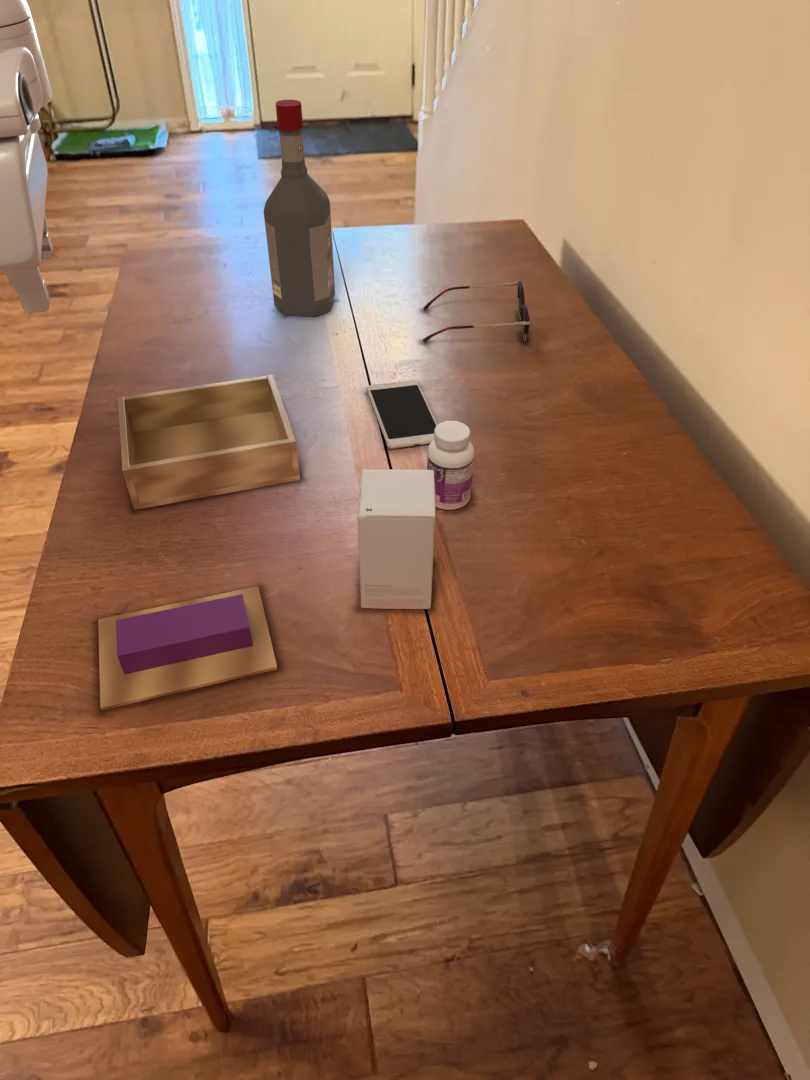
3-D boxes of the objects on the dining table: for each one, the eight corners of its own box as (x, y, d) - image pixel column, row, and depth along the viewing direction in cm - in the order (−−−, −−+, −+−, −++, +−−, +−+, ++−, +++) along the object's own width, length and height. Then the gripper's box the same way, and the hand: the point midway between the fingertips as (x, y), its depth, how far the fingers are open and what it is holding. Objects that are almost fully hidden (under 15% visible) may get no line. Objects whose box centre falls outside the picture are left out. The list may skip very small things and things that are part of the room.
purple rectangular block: (124, 674, 72) (116, 655, 70) (122, 638, 75) (115, 619, 74) (253, 646, 75) (249, 627, 73) (246, 612, 78) (242, 593, 76)
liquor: (337, 293, 132) (326, 95, 111) (327, 319, 125) (314, 113, 105) (284, 291, 132) (264, 93, 112) (272, 315, 126) (248, 110, 105)
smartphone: (388, 446, 98) (365, 385, 109) (388, 450, 99) (365, 389, 110) (445, 439, 100) (417, 378, 110) (445, 443, 100) (417, 382, 111)
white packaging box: (431, 611, 79) (436, 517, 70) (359, 609, 79) (354, 516, 71) (431, 560, 84) (435, 468, 76) (363, 559, 85) (360, 466, 76)
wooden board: (101, 710, 70) (100, 707, 70) (99, 622, 78) (97, 619, 77) (277, 669, 73) (277, 666, 73) (258, 589, 81) (258, 585, 81)
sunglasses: (528, 349, 119) (530, 318, 115) (423, 353, 119) (421, 323, 116) (520, 307, 129) (521, 278, 125) (423, 311, 129) (422, 282, 126)
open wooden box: (134, 510, 90) (122, 470, 86) (128, 435, 101) (117, 397, 97) (300, 480, 95) (296, 441, 91) (277, 411, 105) (272, 374, 102)
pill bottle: (419, 488, 94) (420, 421, 87) (459, 479, 95) (464, 412, 88) (436, 516, 90) (439, 448, 83) (477, 506, 91) (484, 438, 85)
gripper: (-61, 43, 56) (5, 234, 66) (-107, 120, 42) (-15, 350, 51) (32, 38, 58) (83, 226, 67) (17, 111, 43) (84, 337, 53)
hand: (40, 281), depth 59 cm, fingers open, 8 cm apart
